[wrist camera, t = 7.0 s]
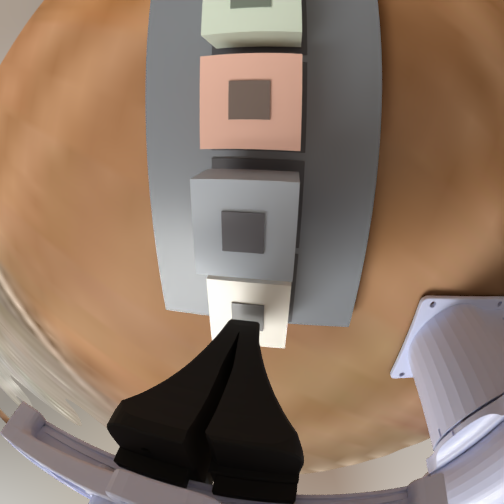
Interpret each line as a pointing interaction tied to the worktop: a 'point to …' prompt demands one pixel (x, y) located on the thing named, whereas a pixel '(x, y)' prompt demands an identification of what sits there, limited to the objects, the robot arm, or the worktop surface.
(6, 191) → the worktop surface
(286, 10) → the key
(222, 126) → the key
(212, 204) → the key
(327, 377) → the worktop surface
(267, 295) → the key
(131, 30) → the worktop surface
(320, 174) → the keypad board
